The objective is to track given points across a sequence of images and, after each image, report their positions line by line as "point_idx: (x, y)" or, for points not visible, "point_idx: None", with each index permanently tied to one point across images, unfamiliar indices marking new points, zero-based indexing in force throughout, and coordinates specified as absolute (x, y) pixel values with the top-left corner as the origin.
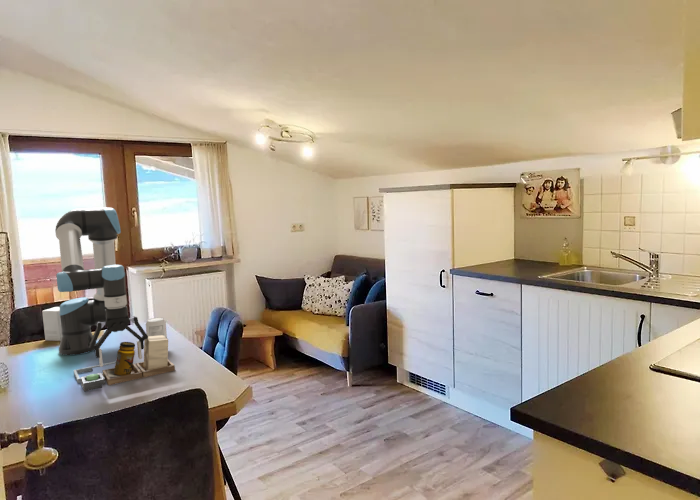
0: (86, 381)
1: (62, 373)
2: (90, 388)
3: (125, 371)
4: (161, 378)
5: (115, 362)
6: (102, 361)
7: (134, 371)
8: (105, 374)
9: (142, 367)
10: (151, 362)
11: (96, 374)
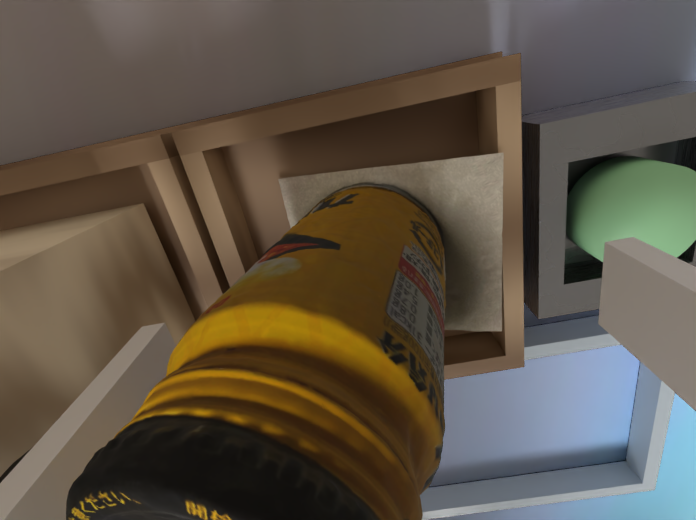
0: None
1: (686, 493)
2: (641, 93)
3: (338, 197)
4: (40, 103)
5: None
6: (659, 271)
7: None
8: (518, 247)
9: None
10: (44, 243)
11: None
